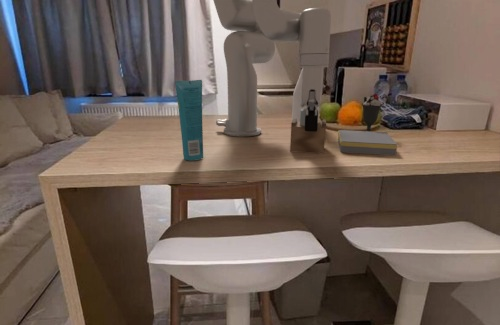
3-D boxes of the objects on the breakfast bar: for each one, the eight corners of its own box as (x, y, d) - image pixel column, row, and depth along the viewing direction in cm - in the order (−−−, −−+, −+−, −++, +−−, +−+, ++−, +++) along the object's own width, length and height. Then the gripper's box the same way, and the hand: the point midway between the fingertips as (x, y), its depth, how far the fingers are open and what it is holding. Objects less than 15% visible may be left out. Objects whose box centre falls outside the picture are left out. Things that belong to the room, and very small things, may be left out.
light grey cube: (299, 125, 87) (300, 110, 86) (300, 122, 91) (301, 108, 90) (314, 126, 87) (316, 111, 85) (315, 123, 90) (316, 109, 89)
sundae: (380, 138, 103) (387, 90, 98) (358, 137, 104) (364, 89, 100) (377, 133, 109) (383, 87, 104) (356, 132, 110) (361, 87, 106)
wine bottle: (297, 129, 114) (302, 38, 104) (288, 124, 122) (291, 39, 113) (322, 128, 116) (329, 38, 106) (311, 123, 125) (317, 39, 115)
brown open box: (290, 151, 89) (291, 122, 86) (292, 145, 95) (293, 118, 92) (323, 153, 87) (326, 124, 84) (323, 147, 93) (325, 119, 90)
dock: (339, 152, 88) (340, 141, 87) (337, 139, 101) (338, 129, 100) (395, 155, 85) (397, 144, 84) (385, 142, 99) (386, 132, 98)
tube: (198, 153, 86) (194, 78, 80) (210, 156, 83) (208, 79, 77) (175, 159, 81) (169, 80, 75) (187, 163, 78) (183, 81, 72)
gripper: (300, 62, 92) (299, 121, 97) (296, 62, 76) (295, 133, 81) (328, 61, 91) (325, 122, 96) (329, 61, 74) (326, 134, 79)
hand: (311, 127), depth 88 cm, fingers open, 9 cm apart
